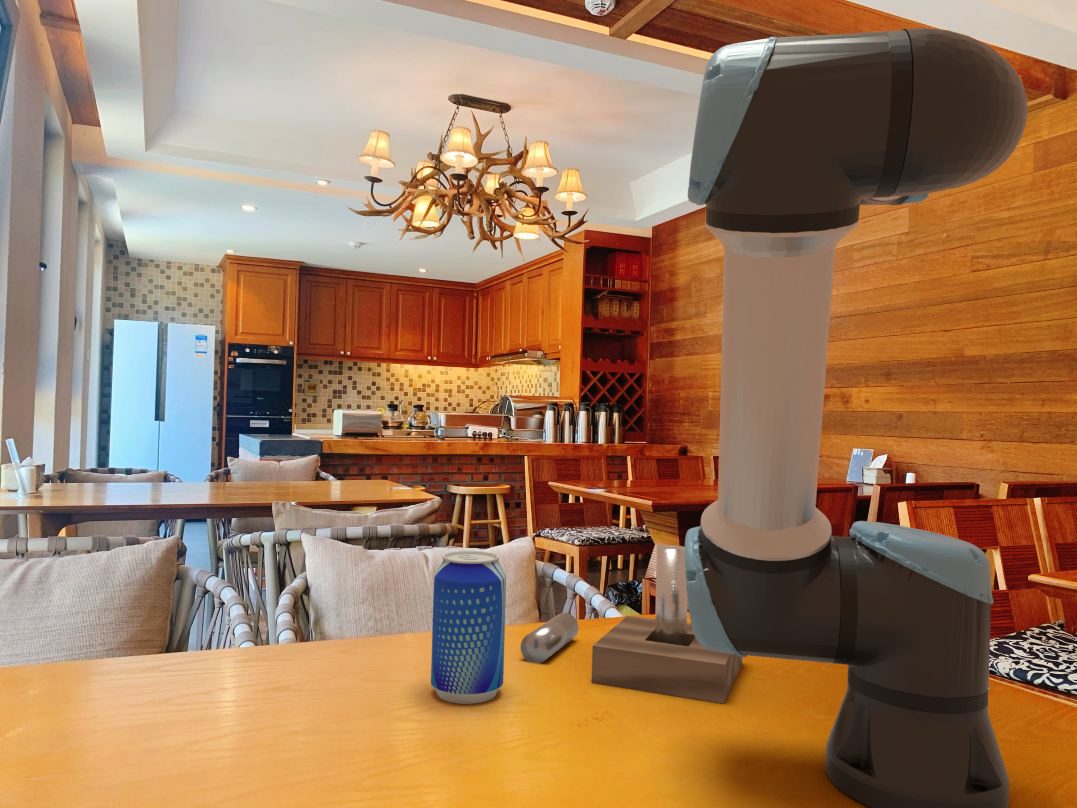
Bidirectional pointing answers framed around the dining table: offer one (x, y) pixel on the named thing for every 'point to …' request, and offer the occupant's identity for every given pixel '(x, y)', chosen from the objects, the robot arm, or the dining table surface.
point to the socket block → (662, 663)
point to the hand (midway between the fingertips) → (757, 427)
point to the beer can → (468, 627)
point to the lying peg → (549, 638)
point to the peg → (671, 596)
